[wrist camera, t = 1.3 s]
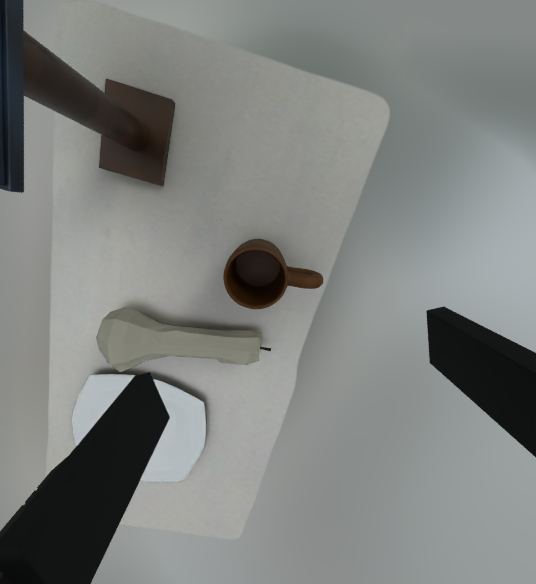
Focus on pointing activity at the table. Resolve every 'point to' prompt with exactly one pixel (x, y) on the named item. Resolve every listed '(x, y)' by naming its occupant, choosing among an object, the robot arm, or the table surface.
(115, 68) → the table surface
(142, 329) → the faceted club
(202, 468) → the table surface
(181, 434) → the plate
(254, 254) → the mug
